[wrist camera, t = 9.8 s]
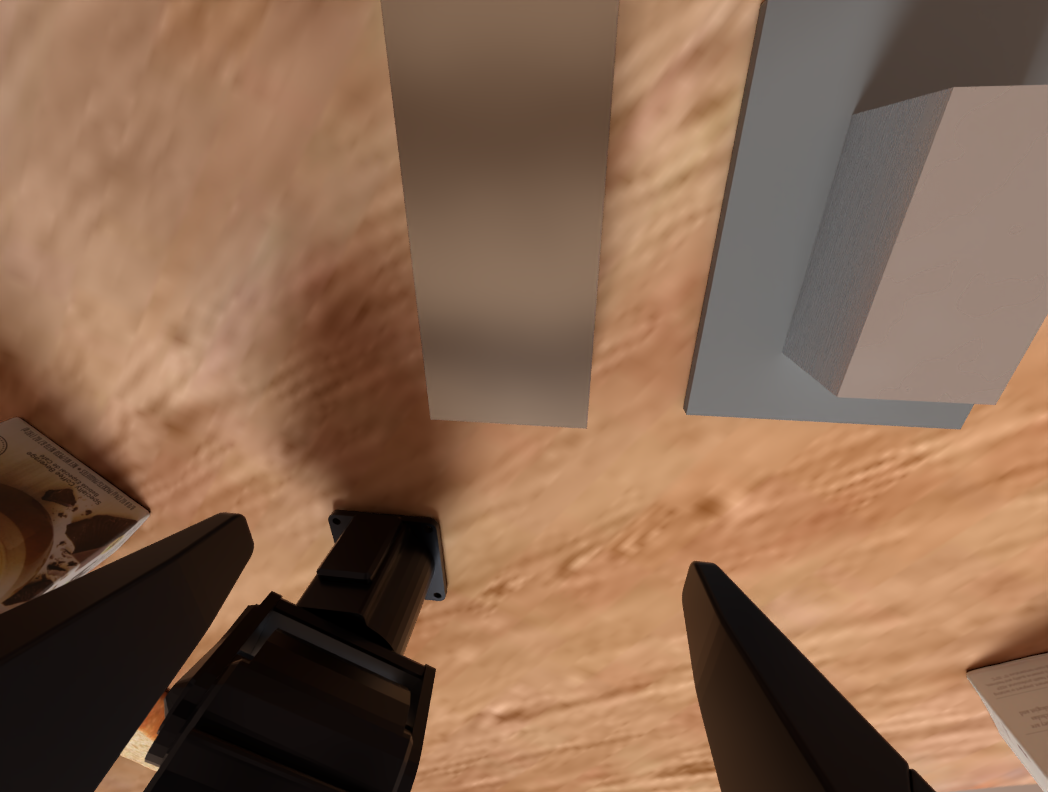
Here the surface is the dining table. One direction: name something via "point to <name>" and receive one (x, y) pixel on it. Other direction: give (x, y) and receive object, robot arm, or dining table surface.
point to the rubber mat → (828, 178)
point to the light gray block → (930, 249)
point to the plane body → (504, 197)
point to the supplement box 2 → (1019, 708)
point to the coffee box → (53, 515)
